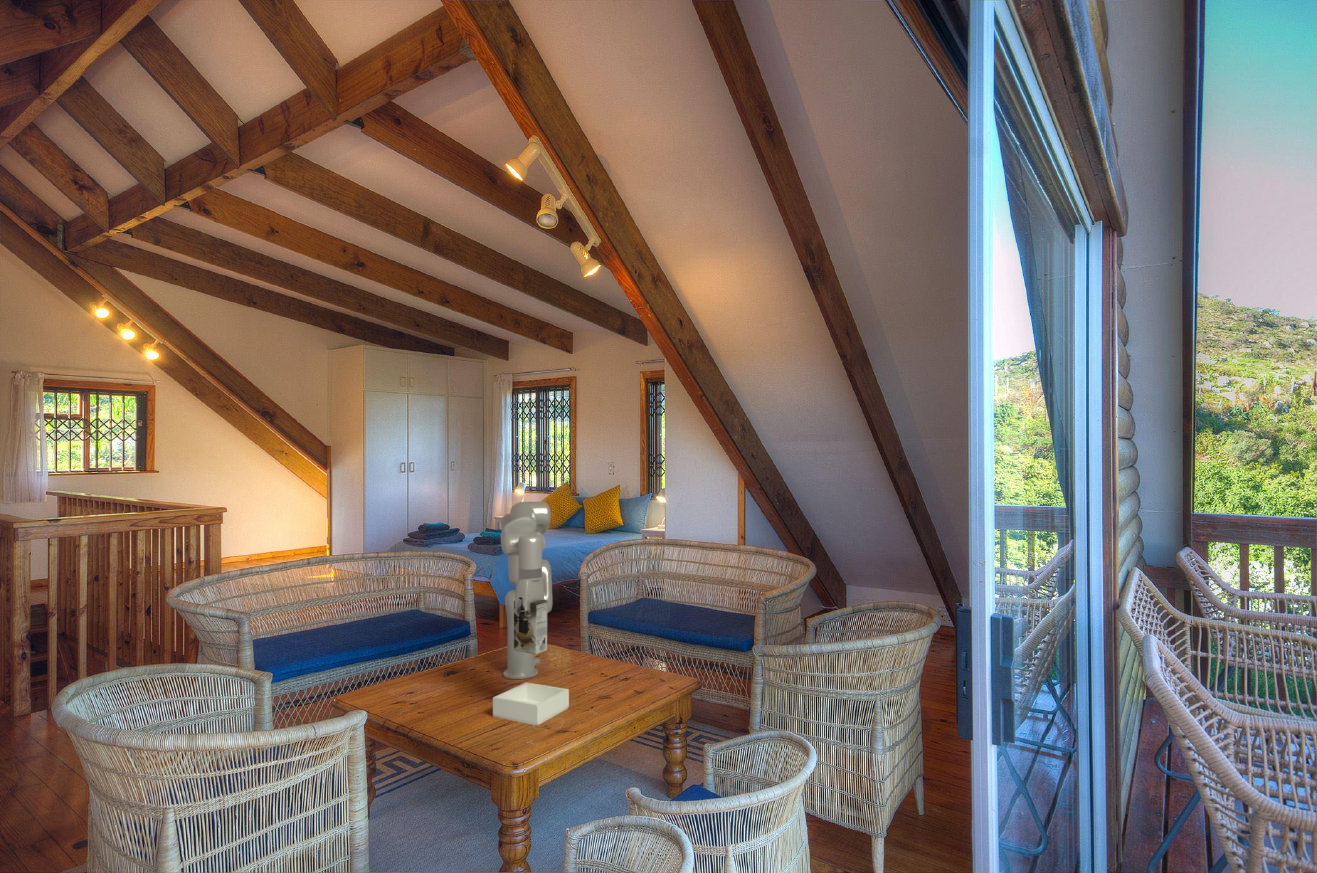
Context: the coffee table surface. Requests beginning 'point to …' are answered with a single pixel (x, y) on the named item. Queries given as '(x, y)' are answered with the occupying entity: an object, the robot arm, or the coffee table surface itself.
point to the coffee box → (532, 629)
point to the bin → (531, 703)
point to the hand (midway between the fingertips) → (530, 629)
